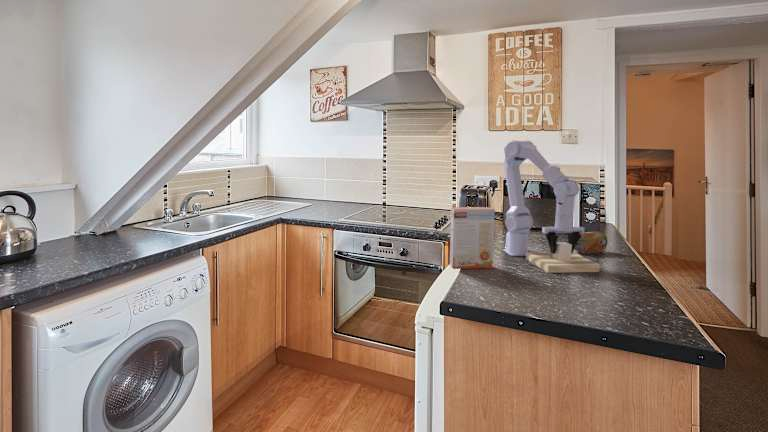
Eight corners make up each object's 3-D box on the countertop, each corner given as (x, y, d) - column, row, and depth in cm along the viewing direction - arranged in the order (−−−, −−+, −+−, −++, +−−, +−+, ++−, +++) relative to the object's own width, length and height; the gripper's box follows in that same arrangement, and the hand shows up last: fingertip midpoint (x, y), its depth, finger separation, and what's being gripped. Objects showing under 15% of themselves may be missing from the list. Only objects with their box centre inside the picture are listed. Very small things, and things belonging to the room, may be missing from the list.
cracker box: (487, 264, 150) (490, 206, 147) (492, 269, 144) (495, 208, 141) (448, 264, 149) (450, 206, 146) (452, 269, 144) (454, 208, 140)
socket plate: (525, 258, 158) (526, 252, 158) (571, 258, 160) (572, 251, 159) (547, 272, 140) (548, 265, 140) (599, 271, 142) (600, 264, 141)
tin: (575, 254, 166) (577, 233, 165) (570, 252, 169) (571, 232, 168) (607, 252, 170) (609, 231, 169) (601, 250, 173) (603, 230, 172)
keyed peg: (558, 267, 147) (560, 244, 146) (550, 262, 153) (551, 241, 152) (570, 266, 148) (571, 244, 146) (561, 262, 153) (563, 241, 152)
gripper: (549, 217, 143) (547, 256, 145) (590, 216, 144) (587, 255, 146) (540, 213, 150) (538, 251, 152) (579, 213, 151) (576, 250, 153)
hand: (561, 253), depth 149 cm, fingers open, 6 cm apart
